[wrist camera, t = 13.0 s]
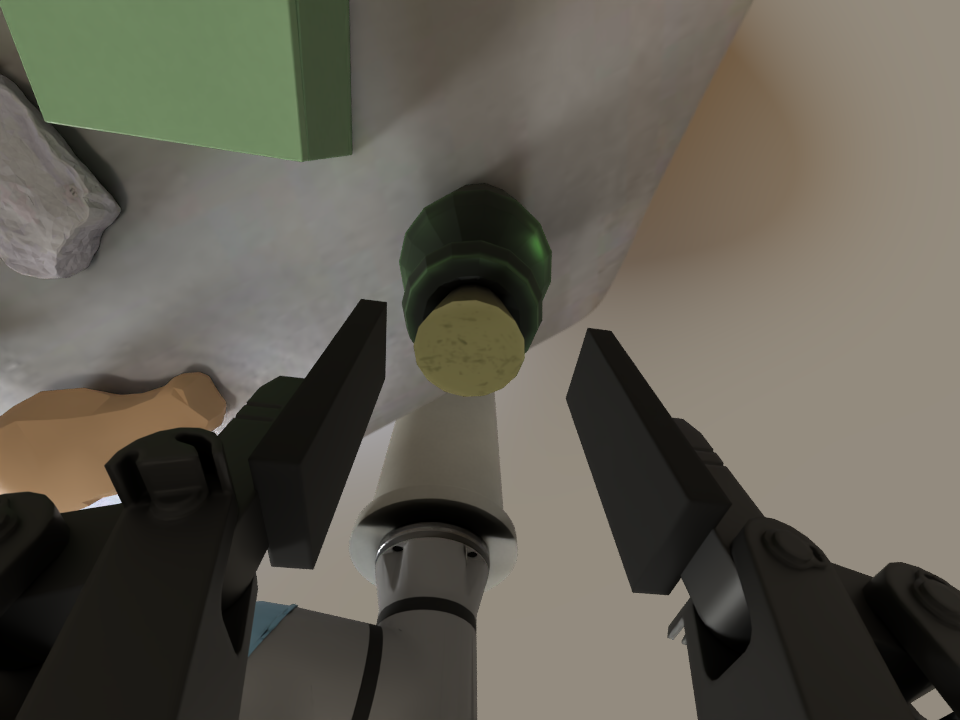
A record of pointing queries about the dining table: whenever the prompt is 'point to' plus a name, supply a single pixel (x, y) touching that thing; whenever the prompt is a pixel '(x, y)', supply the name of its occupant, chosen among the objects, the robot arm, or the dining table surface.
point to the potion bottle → (474, 288)
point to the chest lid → (168, 70)
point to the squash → (93, 435)
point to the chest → (325, 76)
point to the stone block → (45, 195)
